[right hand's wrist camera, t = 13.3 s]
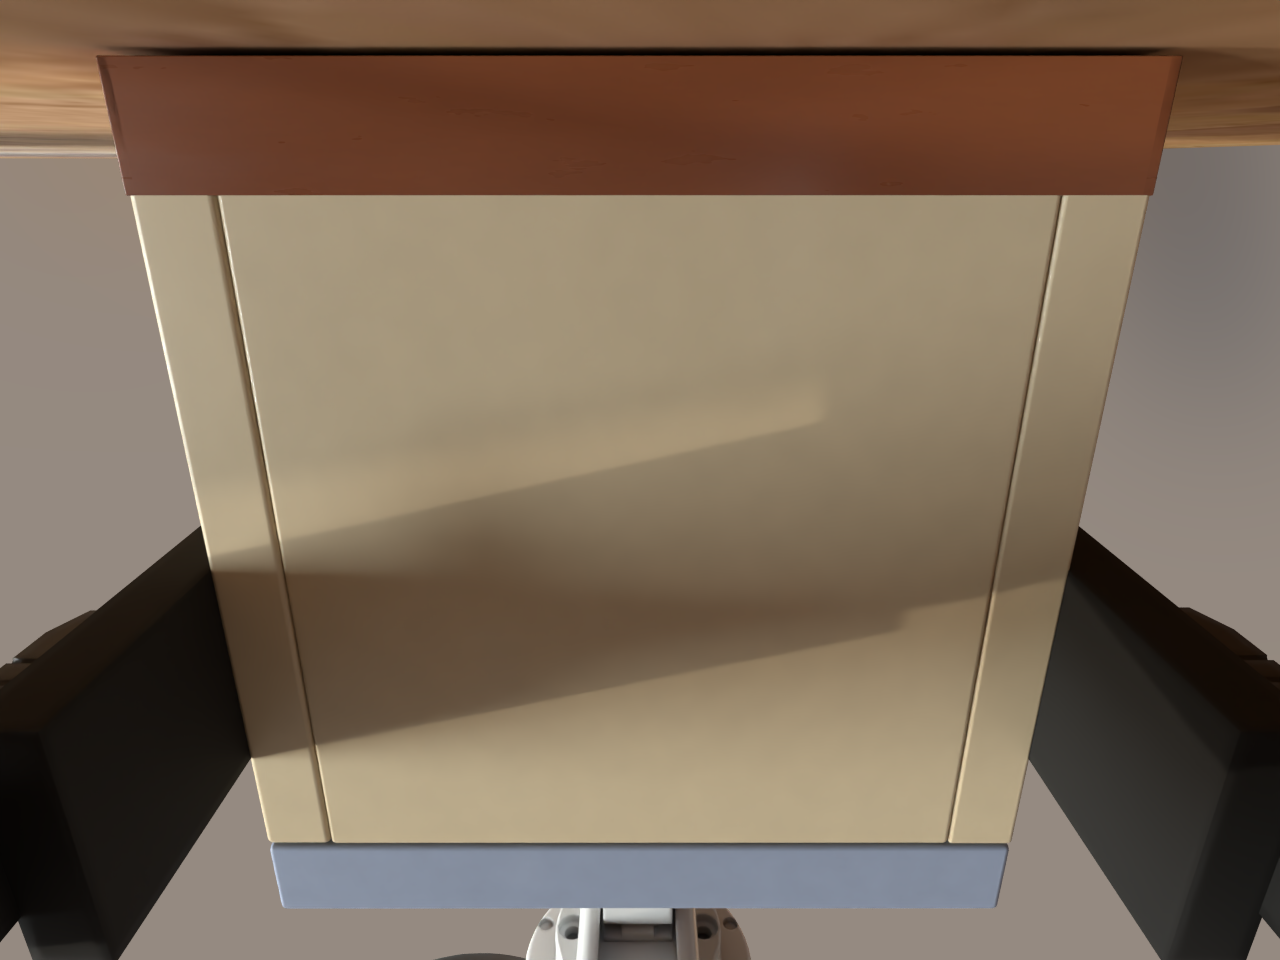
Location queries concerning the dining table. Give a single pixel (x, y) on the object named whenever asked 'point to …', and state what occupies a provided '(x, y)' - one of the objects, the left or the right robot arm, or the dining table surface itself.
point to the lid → (639, 875)
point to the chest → (639, 424)
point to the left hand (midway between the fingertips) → (637, 696)
